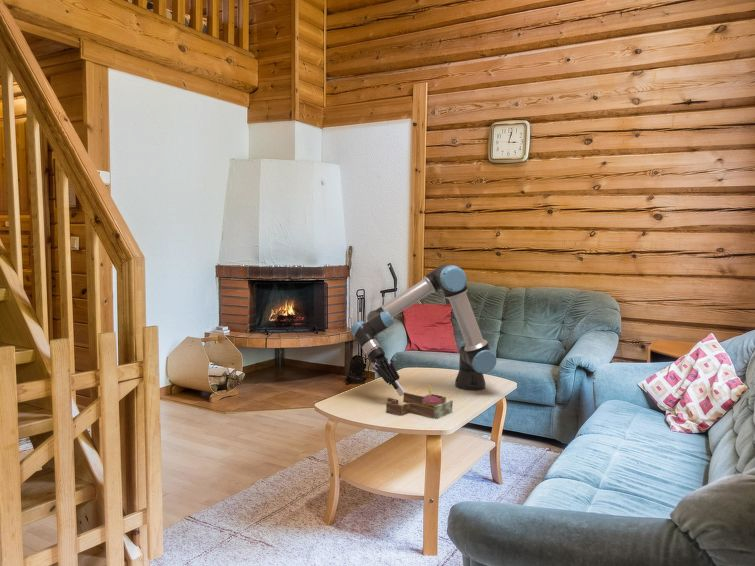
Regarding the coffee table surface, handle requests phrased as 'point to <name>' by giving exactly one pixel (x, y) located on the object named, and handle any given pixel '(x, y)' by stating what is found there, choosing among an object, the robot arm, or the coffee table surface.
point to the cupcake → (431, 400)
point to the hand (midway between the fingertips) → (402, 394)
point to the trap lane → (418, 406)
